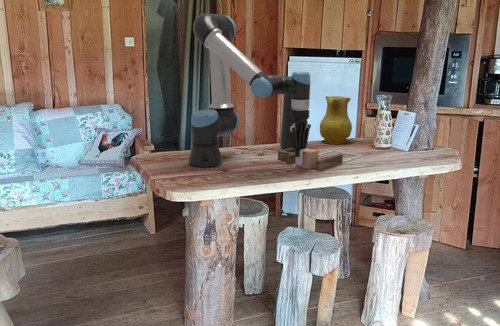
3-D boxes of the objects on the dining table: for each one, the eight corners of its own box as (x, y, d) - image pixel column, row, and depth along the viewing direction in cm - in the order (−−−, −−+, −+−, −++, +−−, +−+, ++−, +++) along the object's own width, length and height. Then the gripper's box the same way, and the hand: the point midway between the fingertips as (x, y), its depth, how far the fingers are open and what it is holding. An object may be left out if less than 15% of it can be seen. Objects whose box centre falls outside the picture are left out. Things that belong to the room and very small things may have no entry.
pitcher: (311, 141, 267) (316, 95, 261) (332, 138, 279) (337, 94, 274) (336, 146, 255) (342, 98, 249) (357, 143, 267) (363, 98, 261)
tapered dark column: (293, 151, 243) (295, 93, 236) (274, 147, 253) (275, 91, 246) (311, 147, 252) (313, 91, 245) (292, 143, 262) (294, 89, 255)
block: (295, 166, 214) (296, 150, 213) (305, 163, 219) (305, 148, 218) (308, 168, 210) (309, 152, 208) (318, 165, 215) (318, 150, 213)
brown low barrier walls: (272, 160, 224) (272, 152, 223) (296, 154, 236) (296, 146, 236) (319, 170, 207) (319, 161, 206) (342, 163, 219) (342, 154, 219)
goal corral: (314, 156, 233) (314, 155, 233) (333, 150, 245) (333, 150, 245) (344, 162, 222) (345, 161, 222) (363, 156, 234) (363, 155, 234)
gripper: (298, 111, 197) (296, 168, 203) (316, 108, 206) (314, 162, 212) (283, 109, 202) (282, 165, 208) (302, 107, 211) (301, 160, 217)
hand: (298, 163), depth 210 cm, fingers closed
